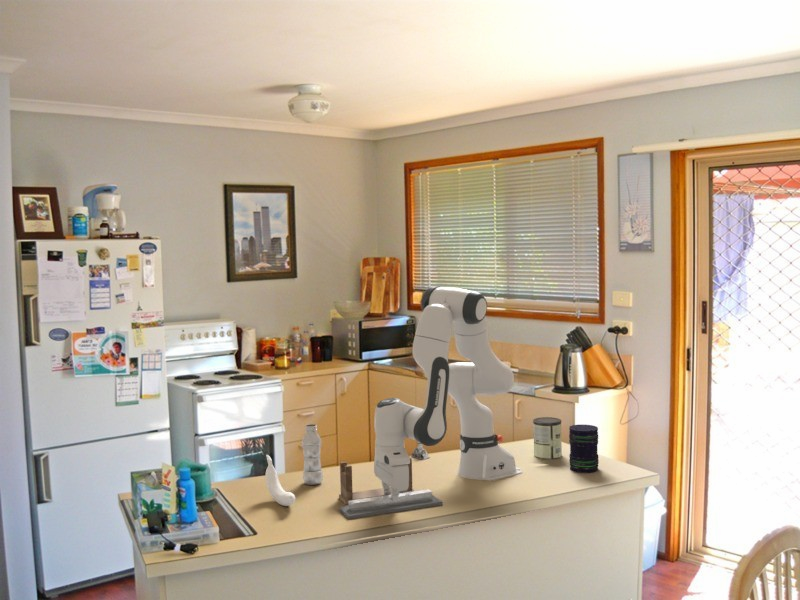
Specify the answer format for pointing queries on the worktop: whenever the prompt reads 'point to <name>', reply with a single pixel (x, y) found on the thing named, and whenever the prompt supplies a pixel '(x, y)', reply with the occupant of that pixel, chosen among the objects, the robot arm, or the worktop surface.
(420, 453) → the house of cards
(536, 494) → the worktop surface
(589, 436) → the storage jar
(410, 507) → the mat
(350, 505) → the rail
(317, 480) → the plastic bottle
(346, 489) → the stand
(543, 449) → the coffee can
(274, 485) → the banana
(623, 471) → the worktop surface
